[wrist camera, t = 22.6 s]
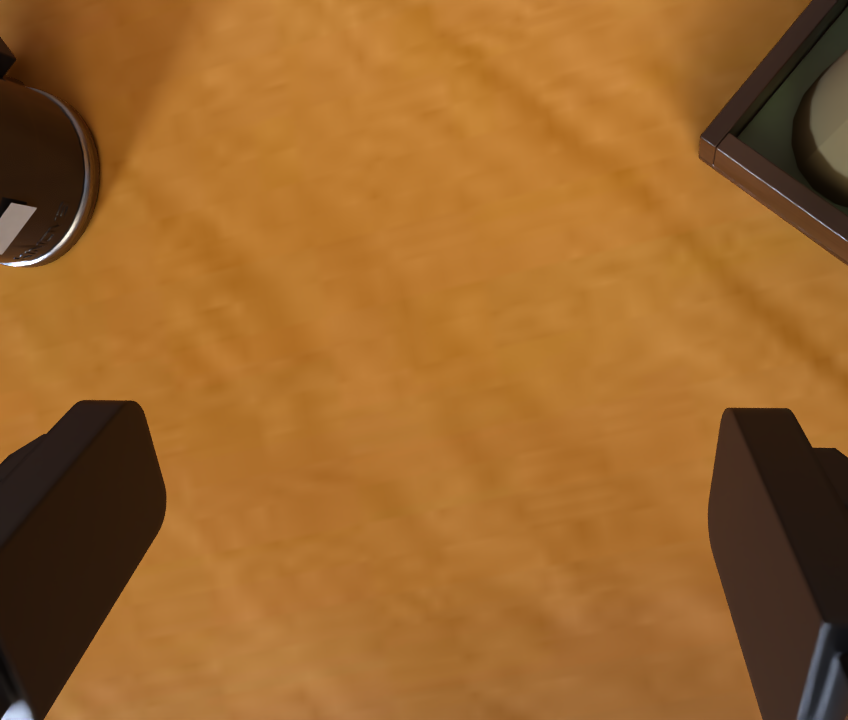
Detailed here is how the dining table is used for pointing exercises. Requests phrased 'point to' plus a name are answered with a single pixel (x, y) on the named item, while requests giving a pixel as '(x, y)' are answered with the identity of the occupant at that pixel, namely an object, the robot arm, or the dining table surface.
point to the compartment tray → (782, 127)
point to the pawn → (824, 133)
